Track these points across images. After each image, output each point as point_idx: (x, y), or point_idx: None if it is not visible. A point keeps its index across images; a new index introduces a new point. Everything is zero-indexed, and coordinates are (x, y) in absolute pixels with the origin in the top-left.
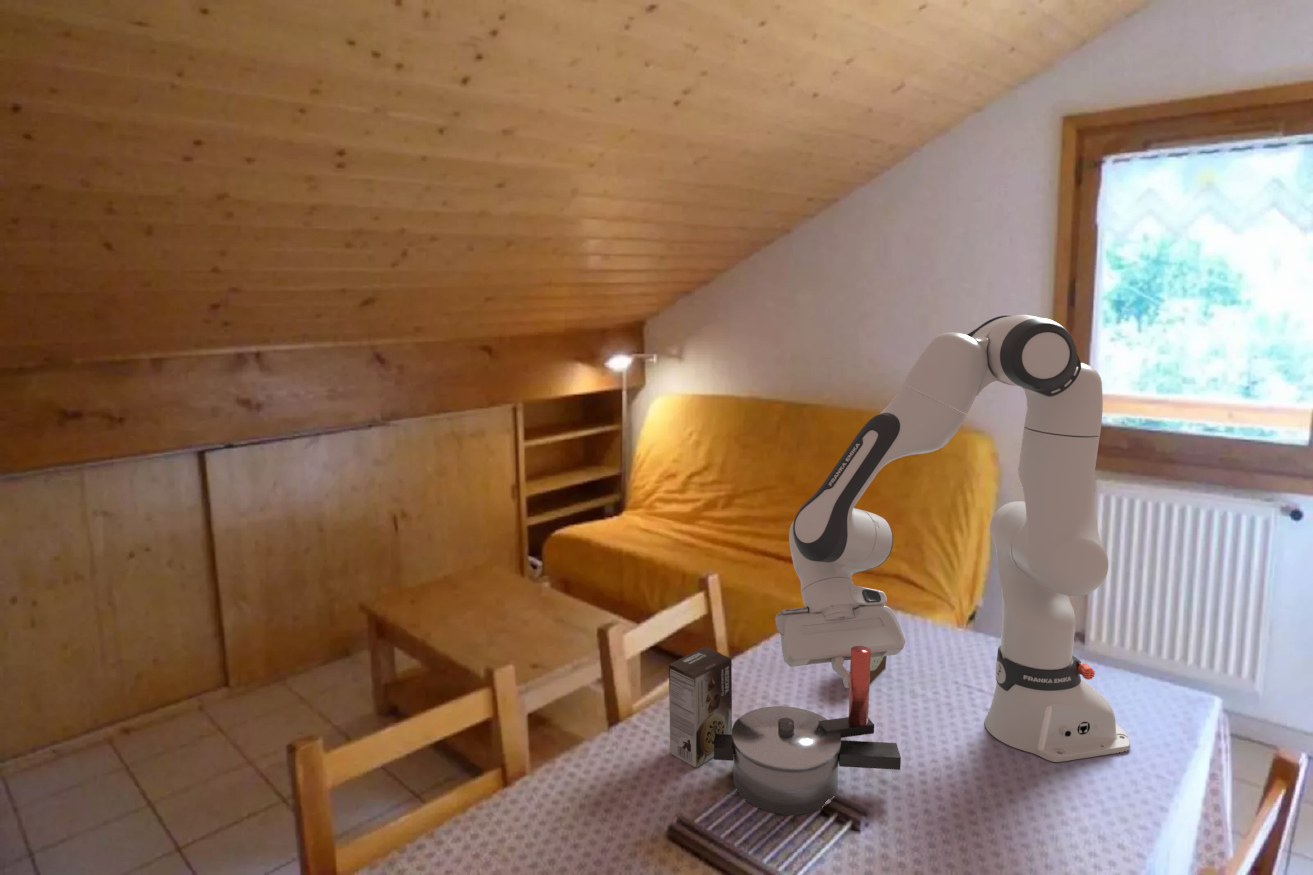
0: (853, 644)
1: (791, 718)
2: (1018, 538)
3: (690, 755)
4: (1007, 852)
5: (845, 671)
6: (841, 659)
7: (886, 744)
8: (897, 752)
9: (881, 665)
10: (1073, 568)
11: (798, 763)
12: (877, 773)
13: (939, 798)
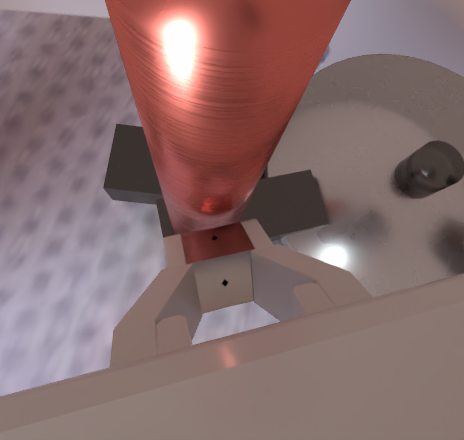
0: (216, 430)
1: (402, 258)
2: None
3: None
4: (6, 31)
5: (277, 255)
6: (321, 305)
7: (134, 181)
8: (116, 145)
9: None
10: None
11: (382, 59)
12: (155, 246)
13: (56, 163)
